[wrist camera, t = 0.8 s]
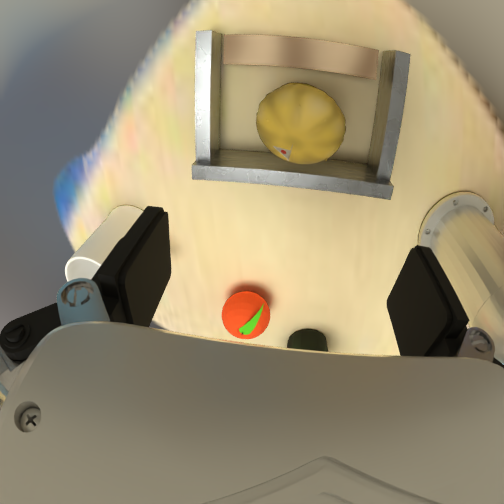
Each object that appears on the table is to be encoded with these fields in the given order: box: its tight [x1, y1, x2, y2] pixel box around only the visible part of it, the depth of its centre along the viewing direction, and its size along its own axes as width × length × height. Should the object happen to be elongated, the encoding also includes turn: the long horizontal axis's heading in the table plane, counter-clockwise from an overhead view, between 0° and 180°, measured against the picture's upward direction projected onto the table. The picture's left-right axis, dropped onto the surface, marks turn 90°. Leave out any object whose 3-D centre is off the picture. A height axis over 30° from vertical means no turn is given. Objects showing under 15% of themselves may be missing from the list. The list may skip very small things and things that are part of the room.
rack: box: [192, 30, 410, 200], centre depth 27 cm, size 20×15×6 cm
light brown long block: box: [223, 34, 379, 80], centre depth 25 cm, size 14×3×5 cm, turn 88°
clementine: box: [222, 291, 270, 339], centre depth 43 cm, size 8×7×7 cm
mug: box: [65, 205, 143, 281], centre depth 37 cm, size 12×8×12 cm
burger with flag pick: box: [256, 83, 346, 164], centre depth 25 cm, size 8×7×12 cm
